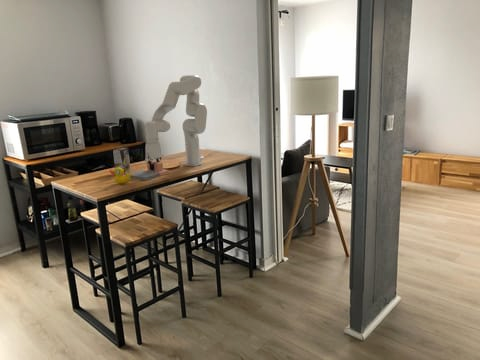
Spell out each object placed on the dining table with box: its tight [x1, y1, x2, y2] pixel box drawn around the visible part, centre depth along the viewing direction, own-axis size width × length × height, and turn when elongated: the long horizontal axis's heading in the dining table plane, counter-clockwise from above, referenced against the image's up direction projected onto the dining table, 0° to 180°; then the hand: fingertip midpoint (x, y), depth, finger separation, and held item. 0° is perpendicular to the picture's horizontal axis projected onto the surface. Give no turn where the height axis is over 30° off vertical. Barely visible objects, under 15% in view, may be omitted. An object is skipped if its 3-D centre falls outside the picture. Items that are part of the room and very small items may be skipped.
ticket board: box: [129, 169, 160, 182], centre depth 246 cm, size 12×16×2 cm
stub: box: [142, 160, 170, 177], centre depth 254 cm, size 8×16×7 cm, turn 56°
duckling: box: [109, 167, 131, 185], centre depth 231 cm, size 11×5×10 cm, turn 96°
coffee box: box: [112, 147, 131, 176], centre depth 256 cm, size 9×6×16 cm
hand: (155, 168), depth 254 cm, fingers open, 4 cm apart
